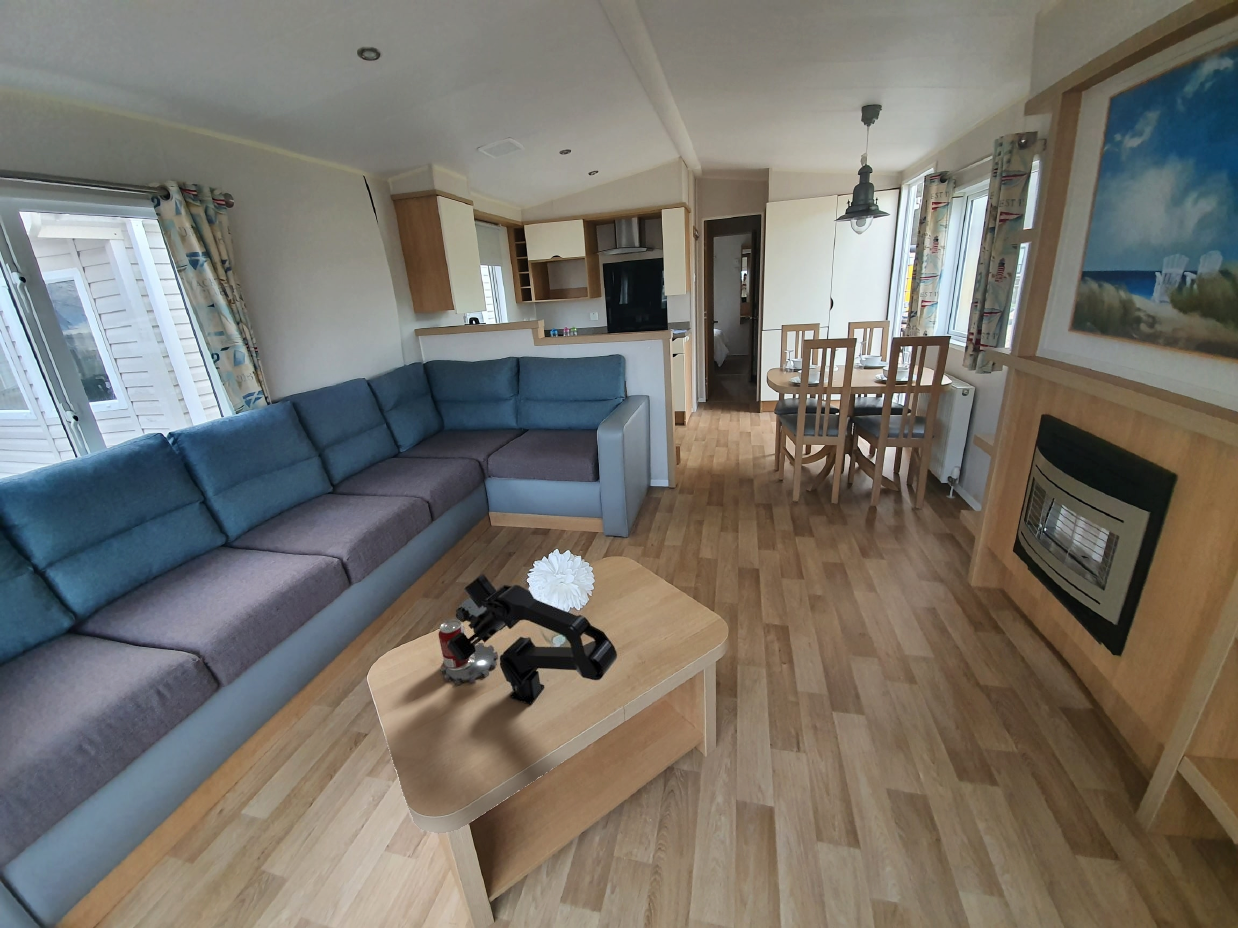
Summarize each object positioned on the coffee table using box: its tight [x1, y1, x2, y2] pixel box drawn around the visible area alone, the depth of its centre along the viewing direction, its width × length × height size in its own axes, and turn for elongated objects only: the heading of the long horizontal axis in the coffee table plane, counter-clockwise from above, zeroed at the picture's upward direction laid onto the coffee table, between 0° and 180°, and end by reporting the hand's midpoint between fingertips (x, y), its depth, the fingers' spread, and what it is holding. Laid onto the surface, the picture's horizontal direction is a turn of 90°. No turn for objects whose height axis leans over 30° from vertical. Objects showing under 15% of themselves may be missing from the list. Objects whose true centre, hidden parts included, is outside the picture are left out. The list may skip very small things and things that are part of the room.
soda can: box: [437, 618, 470, 669], centre depth 134 cm, size 7×7×12 cm
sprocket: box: [440, 642, 499, 686], centre depth 136 cm, size 15×15×1 cm
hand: (469, 642), depth 131 cm, fingers open, 9 cm apart
